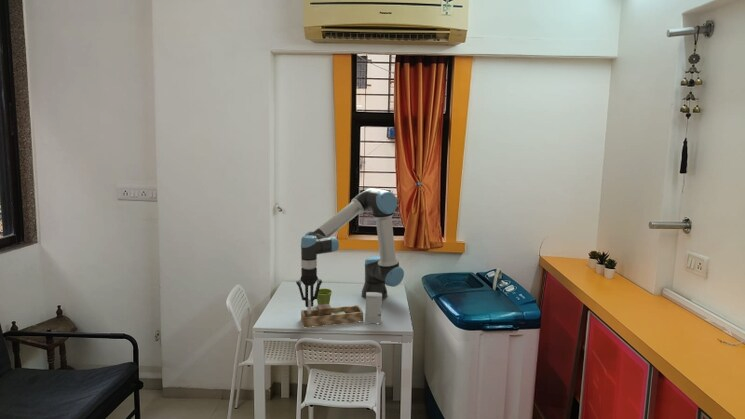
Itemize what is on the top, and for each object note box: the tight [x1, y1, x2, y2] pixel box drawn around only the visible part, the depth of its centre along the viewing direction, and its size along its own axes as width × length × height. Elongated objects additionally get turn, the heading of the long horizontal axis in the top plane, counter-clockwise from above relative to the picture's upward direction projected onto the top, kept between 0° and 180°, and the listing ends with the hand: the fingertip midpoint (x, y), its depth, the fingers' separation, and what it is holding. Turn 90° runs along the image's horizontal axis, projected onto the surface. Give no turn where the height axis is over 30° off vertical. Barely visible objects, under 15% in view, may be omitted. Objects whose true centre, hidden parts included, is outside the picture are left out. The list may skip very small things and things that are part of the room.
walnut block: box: [316, 303, 332, 316], centre depth 228 cm, size 6×6×5 cm
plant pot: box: [316, 288, 333, 305], centre depth 248 cm, size 9×9×9 cm
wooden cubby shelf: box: [300, 304, 364, 328], centre depth 230 cm, size 30×10×5 cm, turn 106°
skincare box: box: [364, 292, 383, 325], centre depth 229 cm, size 8×6×15 cm
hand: (309, 312), depth 226 cm, fingers closed
